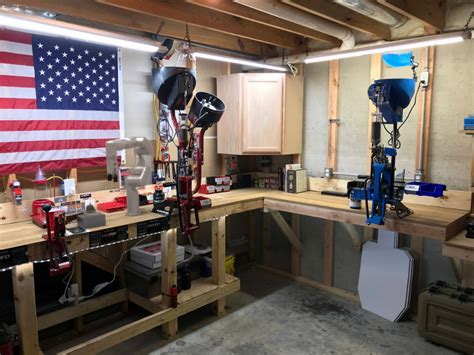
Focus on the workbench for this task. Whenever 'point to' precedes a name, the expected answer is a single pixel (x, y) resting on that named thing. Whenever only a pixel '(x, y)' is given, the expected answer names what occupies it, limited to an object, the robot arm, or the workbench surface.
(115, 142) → the robot arm
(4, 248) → the workbench surface
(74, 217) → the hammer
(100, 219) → the block
